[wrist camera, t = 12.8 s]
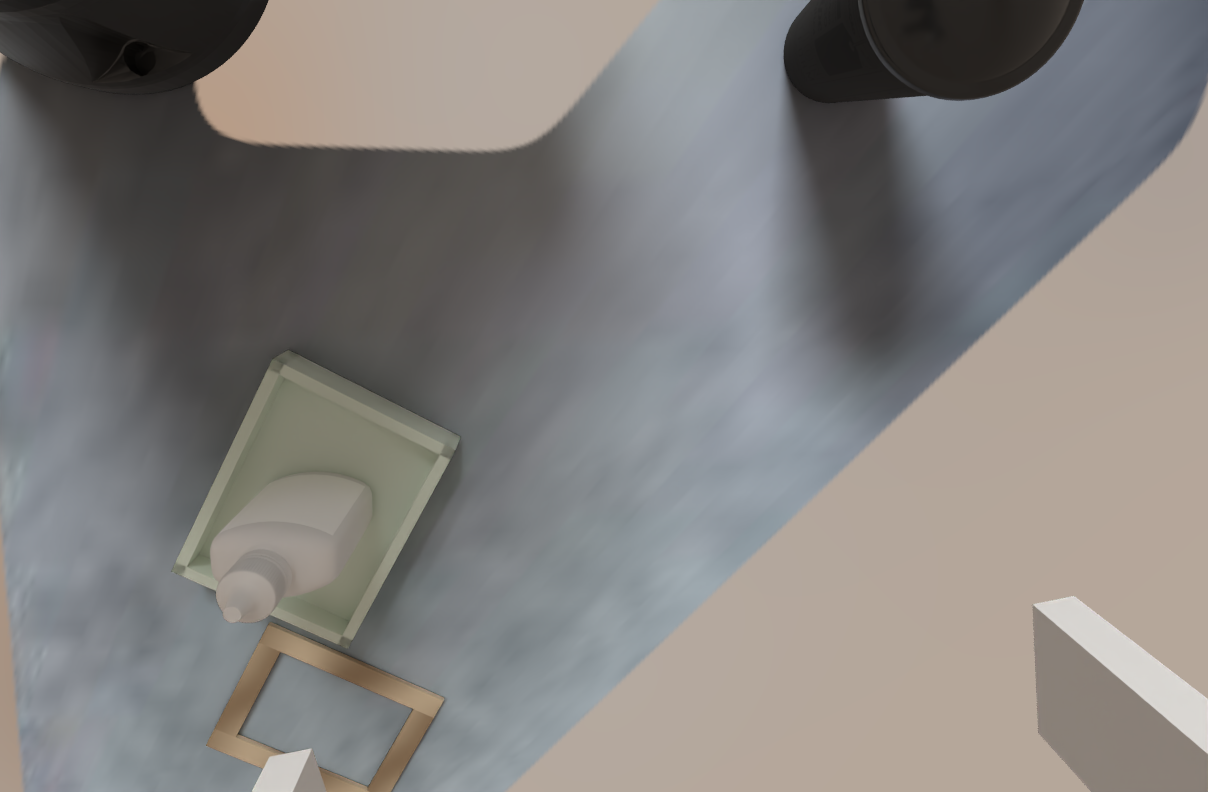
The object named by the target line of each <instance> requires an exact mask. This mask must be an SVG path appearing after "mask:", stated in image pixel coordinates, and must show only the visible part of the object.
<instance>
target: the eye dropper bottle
mask: <svg viewBox="0 0 1208 792" xmlns="http://www.w3.org/2000/svg"><path fill="white" fill-rule="evenodd" d="M371 519H372V492H371V489H370V487H369V486H368V485H367V484H366V483H364V482H362V481H360V480H357V479H355V478H352V477H349V476H345V475H341V474H337V473H331V472H303V473H297V474H293V475H289V476H285V477H282V478H279V479H277V480H274V481H272V482H270V483H269V484H268V485H267V486H266V487H265V488H263V489H262V490H261V491H260V492H259V493H258V494H257V495H256V496H255V497H254V498H253V499H252V500H251V501H250V502H249V503H248V504H247V505H246V506H245V507H244V508H243V509H242V510H241V511H240V512H239V513H238V514H237V515H236V516H235V517H234V518H233V519H232V520H231V521H230V522H229V523H228V524H227V525H226V526H225V527H224V528H223V529H222V530H221V531H220V532H219V533H218V535H217V536H216V537H215V538H214V540H213V541H212V544H211V548H210V559H211V569H212V574H213V576H214V578H215V579H216V580H217V581H218V582H219V583H218V585H217V588H216V589H217V590H216V598H217V599H216V600H217V603H218V605H219V607H220V609H221V610H222V611H223V617H224V619H225V620H226V621H228V622H230V623H235V622H238V621H239V622H242V623H243V622H244V623H253V622H258V621H261V620H263V619H265V618H267V616H269V615H270V614H271V613H272V612H273V611H274V609H275V608H276V606H277V605H278V603H279V602H280V600H281V599H282V598H285V597H291V596H297V595H301V594H305V593H308V592H311V591H314V590H317V589H319V588H321V587H324V586H326V585H328V584H330V583H331V582H332V581H334V580H335V579H336V578H337V577H338V576H339V574H340V573H341V571H342V569H343V568H344V566H345V565H346V563H347V561H348V560H349V558H350V556H351V554H352V553H353V551H354V549H355V548H356V546H357V544H358V543H359V541H360V539H361V537H362V536H363V534H364V532H365V530H366V529H367V527H368V525H369V523H370V521H371Z"/></svg>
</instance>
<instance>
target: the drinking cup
mask: <svg viewBox="0 0 1208 792" xmlns="http://www.w3.org/2000/svg"><path fill="white" fill-rule="evenodd" d="M1083 1H1084V0H811V1H810V2H809V3H808V4H807V5H806V7H805V8H804V9H803V10H802V11H801V13H800V14H799V15H798V16H797V17H796V19H795V20H794V22H793V23H792V25H791V27H790V29H789V31H788V34H787V37H786V40H785V45H784V62H785V67H786V71H787V73H788V76H789V78H790V80H791V81H792V83H793V84H794V86H795V87H796V88H797V89H798V90H799V91H800V92H801V93H802V94H803V95H805V96H806V97H808V98H810V99H812V100H815V101H818V102H824V103H836V102H849V101H862V100H876V99H889V98H902V97H915V96H930V97H934V98H938V99H944V100H954V101H964V100H974V99H980V98H985V97H988V96H992V95H995V94H998V93H1001V92H1004V91H1006V90H1008V89H1010V88H1012V87H1014V86H1016V85H1018V84H1020V83H1021V82H1023V81H1025V80H1026V79H1028V78H1029V77H1030V76H1032V75H1033V74H1034V73H1036V72H1037V71H1038V70H1039V69H1040V68H1041V67H1042V66H1043V65H1045V64H1046V63H1047V61H1048V60H1049V59H1050V58H1051V57H1052V56H1053V55H1054V54H1055V52H1056V51H1057V50H1058V49H1059V47H1060V46H1061V45H1062V43H1063V42H1064V40H1065V39H1066V37H1067V36H1068V34H1069V33H1070V31H1071V29H1072V27H1073V25H1074V23H1075V21H1076V19H1077V17H1078V15H1079V12H1080V10H1081V7H1082V4H1083Z"/></svg>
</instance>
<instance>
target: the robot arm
mask: <svg viewBox="0 0 1208 792" xmlns="http://www.w3.org/2000/svg"><path fill="white" fill-rule="evenodd" d="M267 3H268V0H0V53H2V54H3V55H5V56H7V57H9V58H10V59H12V60H14V61H15V62H17V63H19V64H21V65H23V66H25V67H27V68H29V69H31V70H33V71H35V72H38V73H40V74H43V75H45V76H47V77H50V78H53V79H56V80H59V81H62V82H66V83H70V84H74V85H78V86H82V87H86V88H91V89H95V90H99V91H105V92H111V93H119V94H148V93H157V92H162V91H167V90H171V89H175V88H178V87H182V86H184V85H187V84H189V83H192V82H194V81H196V80H198V79H200V78H202V77H204V76H206V75H208V74H209V73H211V72H212V71H214V70H215V69H217V68H218V67H219V66H221V65H222V64H224V63H225V62H226V61H227V60H228V59H229V58H231V57H232V56H233V55H234V53H236V52H237V51H238V50H239V49H240V47H241V46H242V45H243V44H244V42H245V41H246V40H247V39H248V37H249V36H250V35H251V33H252V32H253V30H254V29H255V27H256V25H257V24H258V22H259V20H260V18H261V16H262V14H263V12H264V10H265V8H266V5H267ZM1033 626H1034V646H1035V670H1036V693H1037V713H1038V733H1039V734H1040V735H1041V736H1042V737H1043V738H1044V740H1045V741H1046V742H1047V743H1048V744H1049V745H1050V746H1051V748H1052V749H1053V750H1054V751H1055V752H1056V753H1057V754H1058V755H1059V756H1060V758H1062V760H1063V761H1064V762H1065V763H1066V764H1067V765H1068V766H1069V767H1070V769H1071V770H1072V771H1073V772H1074V773H1075V774H1076V775H1077V776H1078V777H1079V779H1080V780H1081V781H1082V782H1083V783H1084V784H1085V785H1086V786H1087V787H1088V789H1089V790H1090V791H1091V792H1208V699H1207V698H1206V697H1204V696H1203V695H1202V694H1201V693H1199V692H1198V691H1197V690H1196V689H1194V688H1193V687H1192V686H1190V685H1189V684H1187V683H1186V682H1185V681H1184V680H1182V679H1181V678H1180V677H1179V676H1177V675H1176V674H1175V673H1173V672H1172V671H1171V670H1170V669H1168V668H1167V667H1166V666H1164V665H1163V664H1162V663H1160V662H1159V661H1158V660H1156V659H1155V658H1154V657H1153V656H1151V655H1150V654H1149V653H1147V652H1146V651H1145V650H1143V649H1142V648H1141V647H1140V646H1138V645H1137V644H1135V643H1134V642H1133V641H1132V640H1131V639H1129V638H1128V637H1127V636H1125V635H1124V634H1123V633H1121V632H1120V631H1119V630H1118V629H1116V628H1115V627H1113V626H1112V625H1111V624H1110V623H1108V622H1107V621H1106V620H1105V619H1103V618H1102V617H1101V616H1099V615H1098V614H1097V613H1095V612H1094V611H1093V610H1092V609H1090V608H1088V606H1086V605H1085V604H1084V603H1082V602H1081V601H1080V600H1078V599H1077V598H1076V597H1075V596H1072V597H1067V598H1062V599H1057V600H1052V601H1047V602H1042V603H1037V604H1033ZM252 792H327V791H326V788H325V785H324V783H323V780H322V777H321V774H320V771H319V768H318V765H317V762H316V759H315V756H314V753H313V750H312V748H311V749H306V750H301V751H296V752H291V753H286V754H281V755H276V756H271V757H269V759H268V761H267V763H266V765H265V766H264V768H263V770H262V772H261V774H260V776H259V778H258V780H257V782H256V784H255V786H254V788H253V790H252Z"/></svg>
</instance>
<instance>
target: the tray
mask: <svg viewBox="0 0 1208 792" xmlns="http://www.w3.org/2000/svg"><path fill="white" fill-rule="evenodd" d="M460 438H461V437H460V436H458V435H456V434H454V433H452V432H450V431H448V430H446V429H444V428H442V427H440V426H438V425H436V424H434V423H432V422H430V421H428V420H427V419H425V418H423V417H421V416H419V415H417V414H415V413H413V412H411V411H409V410H407V409H405V408H403V407H401V406H399V405H397V404H395V403H393V402H391V401H389V400H387V399H385V398H383V397H381V396H379V395H377V394H375V393H373V392H371V391H369V390H367V389H365V388H363V387H361V386H359V385H357V384H355V383H353V382H351V381H349V380H347V379H345V378H343V377H341V376H339V375H337V374H335V373H333V372H331V371H329V370H327V369H325V368H323V367H321V366H319V365H317V364H315V363H313V362H311V361H309V360H307V359H306V358H304V357H302V356H300V355H298V354H296V353H294V352H292V351H290V350H287V351H285V352H284V353H282V354H280V355H278V356H277V357H275V358H273V359H272V361H271V363H270V365H269V368H268V370H267V372H266V374H265V376H264V378H263V380H262V382H261V384H260V386H259V388H258V391H257V393H256V395H255V397H254V399H253V401H252V403H251V405H250V407H249V409H248V412H247V414H246V416H245V418H244V420H243V422H242V424H241V426H240V428H239V430H238V432H237V435H236V437H235V439H234V441H233V443H232V445H231V447H230V449H229V451H228V453H227V456H226V458H225V460H224V462H223V464H222V466H221V468H220V470H219V472H218V474H217V476H216V479H215V481H214V483H213V485H212V487H211V489H210V491H209V493H208V495H207V497H206V500H205V502H204V504H203V506H202V508H201V510H200V512H199V514H198V516H197V518H196V520H195V523H194V525H193V527H192V529H191V531H190V533H189V535H188V537H187V539H186V541H185V543H184V546H183V548H182V550H181V552H180V554H179V556H178V558H177V560H176V562H175V564H174V567H173V569H172V571H171V572H174V573H176V574H178V575H180V576H183V577H185V578H187V579H189V580H192V581H194V582H196V583H199V584H201V585H203V586H205V587H208V588H210V589H212V590H215V591H216V590H217V589H216V588H217V585H218V583H219V582H218V581H217V580H216V579H215V578H214V576H213V574H212V569H211V559H210V548H211V544H212V541H213V540H214V538H215V537H216V536H217V535H218V533H219V532H220V531H221V530H222V529H223V528H224V527H225V526H226V525H227V524H228V523H229V522H230V521H231V520H232V519H233V518H234V517H235V516H236V515H237V514H238V513H239V512H240V511H241V510H242V509H243V508H244V507H245V506H246V505H247V504H248V503H249V502H250V501H251V500H252V499H253V498H254V497H255V496H256V495H257V494H258V493H259V492H260V491H261V490H262V489H263V488H265V487H266V486H267V485H268V484H269V483H270V482H272V481H274V480H277V479H279V478H282V477H285V476H289V475H293V474H297V473H303V472H331V473H337V474H341V475H345V476H349V477H352V478H355V479H357V480H360V481H362V482H364V483H366V484H367V485H368V486H369V487H370V489H371V492H372V519H371V521H370V523H369V525H368V527H367V529H366V530H365V532H364V534H363V536H362V537H361V539H360V541H359V543H358V544H357V546H356V548H355V549H354V551H353V553H352V554H351V556H350V558H349V560H348V561H347V563H346V565H345V566H344V568H343V569H342V571H341V573H340V574H339V576H338V577H337V578H336V579H335V580H334V581H332V582H331V583H330V584H328V585H326V586H324V587H321V588H319V589H317V590H314V591H311V592H308V593H305V594H301V595H297V596H291V597H285V598H282V599H281V600H280V602H279V603H278V605H277V606H276V608H275V609H274V611H273V612H272V613H271V614H270V615H272V616H274V617H276V618H278V619H281V620H283V621H285V622H287V623H290V624H292V625H294V626H297V627H299V628H301V629H303V630H306V631H308V632H310V633H313V634H315V635H317V636H319V637H322V638H324V639H326V640H329V641H331V642H333V643H335V644H338V645H340V646H342V647H344V648H347V649H348V647H349V645H350V643H351V642H352V640H353V638H354V636H355V634H356V632H357V631H358V629H359V627H360V625H361V623H362V621H363V620H364V618H365V616H366V614H367V612H368V610H369V609H370V607H371V605H372V603H373V601H374V599H375V597H376V596H377V594H378V592H379V590H380V588H381V586H382V585H383V583H384V581H385V579H386V577H387V575H388V574H389V572H390V570H391V568H392V566H393V564H394V563H395V561H396V559H397V557H398V555H399V553H400V552H401V550H402V548H403V546H404V544H405V542H406V540H407V539H408V537H409V535H410V533H411V531H412V529H413V528H414V526H415V524H416V522H417V520H418V518H419V517H420V515H421V513H422V511H423V509H424V507H425V506H426V504H427V502H428V500H429V498H430V496H431V494H432V493H433V491H434V489H435V487H436V485H437V483H438V482H439V480H440V478H441V476H442V474H443V472H444V471H445V469H446V467H447V465H448V463H449V461H450V460H451V458H452V456H453V454H454V452H455V450H456V448H457V445H458V443H459V440H460Z"/></svg>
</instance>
